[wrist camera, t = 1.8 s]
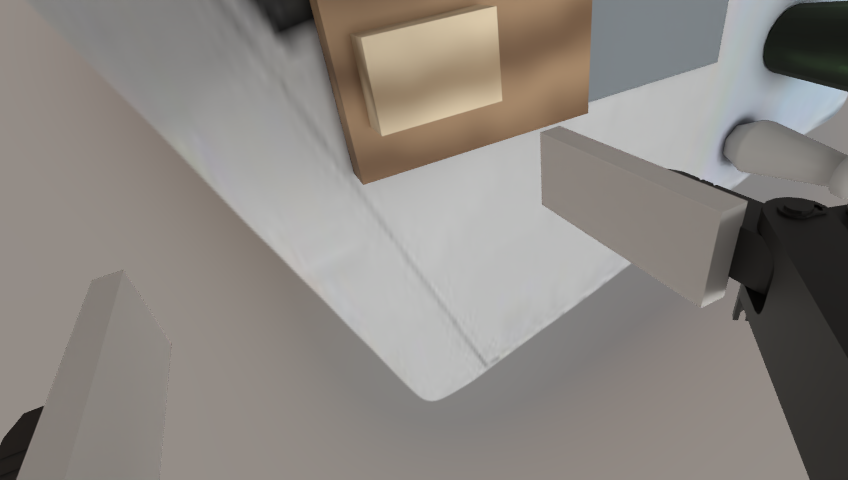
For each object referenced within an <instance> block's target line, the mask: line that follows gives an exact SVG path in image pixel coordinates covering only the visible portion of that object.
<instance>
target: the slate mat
mask: <svg viewBox="0 0 848 480" xmlns="http://www.w3.org/2000/svg"><path fill="white" fill-rule="evenodd" d="M728 1H729V0H592V23H591V48H590V72H589V97H588V102H591V101H594V100H598V99H601V98H604V97H607V96H610V95H614V94H617V93H620V92H623V91H626V90H630V89H633V88H636V87H639V86H642V85H646V84H649V83H652V82H655V81H658V80H662V79H665V78H668V77H671V76H674V75H678V74H681V73H684V72H687V71H690V70H694V69H697V68H700V67H703V66H706V65H710V64H713V63H716V62H717V61H718V56H719V50H720V45H721V39H722V34H723V28H724V23H725V18H726V12H727V7H728Z"/></svg>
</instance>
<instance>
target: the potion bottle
mask: <svg viewBox="0 0 848 480" xmlns="http://www.w3.org/2000/svg"><path fill="white" fill-rule="evenodd" d="M764 57H765V62H766V65H767V67H768V68H769V69H770V70H771V71H772V72H774V73H778V74H782V75H786V76H789V77H793V78H797V79H801V80H805V81H809V82H813V83H816V84H820V85H824V86H828V87H832V88H836V89H840V90H843V91H847V92H848V1H835V2H817V3H800V4H798V5H796V6H794V7H792V8H790V9H789V10H787V11H786V12H785V13H784V14H783V15H782V16H781V17H780V18H779V19H778V20H777V22H776V23H775V25H774V27H773V28H772V30H771V31H770V34H769V36H768V39H767V42H766V45H765V53H764Z"/></svg>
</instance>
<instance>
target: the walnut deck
mask: <svg viewBox="0 0 848 480" xmlns="http://www.w3.org/2000/svg"><path fill="white" fill-rule="evenodd" d="M309 1H310V5H311V9H312V12H313V16H314V20H315V24H316V28H317V32H318V36H319V39H320V43H321V47H322V51H323V55H324V59H325V62H326V66H327V70H328V74H329V78H330V82H331V85H332V89H333V93H334V97H335V101H336V105H337V109H338V112H339V116H340V120H341V124H342V128H343V132H344V135H345V139H346V143H347V147H348V151H349V155H350V159H351V162H352V166H353V170H354V174H355V175H356V176H357V177H358V179H359V180H360V181H361V182H362V184H363V185H364V184H367V183H370V182H374V181H377V180H380V179H383V178H386V177H389V176H392V175H396V174H399V173H402V172H405V171H408V170H411V169H414V168H417V167H421V166H424V165H427V164H430V163H433V162H436V161H439V160H442V159H446V158H449V157H452V156H455V155H458V154H461V153H464V152H468V151H471V150H474V149H477V148H480V147H483V146H486V145H489V144H493V143H496V142H499V141H502V140H505V139H508V138H511V137H514V136H518V135H521V134H524V133H527V132H530V131H533V130H536V129H540V128H543V127H546V126H549V125H552V124H555V123H558V122H561V121H565V120H568V119H571V118H574V117H577V116H580V115H583V114H586V113H588V97H589V72H590V48H591V23H592V0H309ZM477 4H478V5H490V6H497V22H498V38H499V54H500V70H501V87H502V101H501V102H497V103H494V104H490V105H487V106H484V107H480V108H477V109H473V110H470V111H467V112H463V113H460V114H456V115H453V116H450V117H446V118H443V119H439V120H436V121H433V122H429V123H426V124H422V125H419V126H416V127H412V128H409V129H406V130H402V131H399V132H395V133H392V134H389V135H385V136H381V135H380V134H379V133H377V132H376V131H375V130H374V129H373V128H372V127H371V126H370V121H369V117H368V112H367V108H366V103H365V99H364V94H363V90H362V86H361V81H360V77H359V72H358V68H357V63H356V59H355V55H354V50H353V46H352V41H351V37H350V34H351V33H356V32H360V31H364V30H369V29H373V28H377V27H382V26H386V25H390V24H395V23H399V22H403V21H408V20H412V19H416V18H421V17H425V16H429V15H434V14H438V13H443V12H447V11H451V10H456V9H460V8H464V7H469V6H473V5H477Z"/></svg>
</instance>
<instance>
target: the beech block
mask: <svg viewBox="0 0 848 480" xmlns="http://www.w3.org/2000/svg"><path fill="white" fill-rule="evenodd" d="M350 37H351V41H352V46H353V50H354V55H355V59H356V63H357V68H358V72H359V77H360V81H361V86H362V90H363V94H364V99H365V103H366V108H367V112H368V117H369V121H370V126H371V127H372V128H373V129H374V130H375V131H376V132H377V133H379V134H380V135H381V136H385V135H389V134H392V133H395V132H399V131H402V130H406V129H409V128H412V127H416V126H419V125H422V124H426V123H429V122H433V121H436V120H439V119H443V118H446V117H450V116H453V115H456V114H460V113H463V112H467V111H470V110H473V109H477V108H480V107H484V106H487V105H490V104H494V103H497V102H501V101H502V87H501V70H500V54H499V38H498V22H497V6H490V5H478V4H477V5H473V6H469V7H464V8H460V9H456V10H451V11H447V12H443V13H438V14H434V15H429V16H425V17H421V18H416V19H412V20H408V21H403V22H399V23H395V24H390V25H386V26H382V27H377V28H373V29H369V30H364V31H360V32H356V33H351V34H350Z"/></svg>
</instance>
